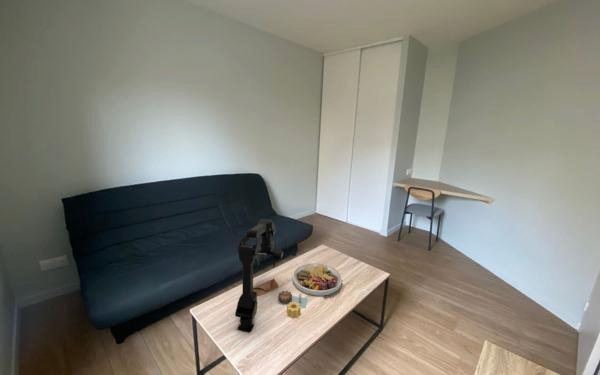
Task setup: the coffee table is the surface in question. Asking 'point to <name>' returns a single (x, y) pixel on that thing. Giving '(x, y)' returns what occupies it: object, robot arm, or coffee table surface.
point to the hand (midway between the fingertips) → (266, 266)
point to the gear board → (298, 301)
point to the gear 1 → (284, 297)
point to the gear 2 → (293, 309)
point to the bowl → (317, 279)
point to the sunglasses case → (265, 287)
